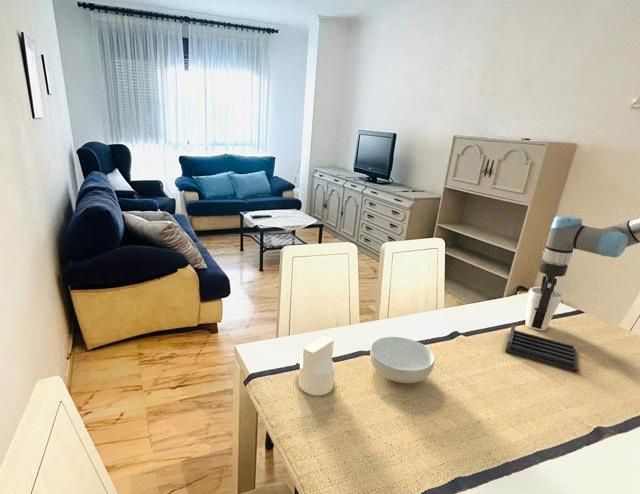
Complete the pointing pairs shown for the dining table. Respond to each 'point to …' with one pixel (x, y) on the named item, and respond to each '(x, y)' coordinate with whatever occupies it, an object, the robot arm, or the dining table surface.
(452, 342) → the dining table surface
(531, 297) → the foam cup
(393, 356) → the cereal bowl
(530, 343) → the drying rack
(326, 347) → the base with upright slab
